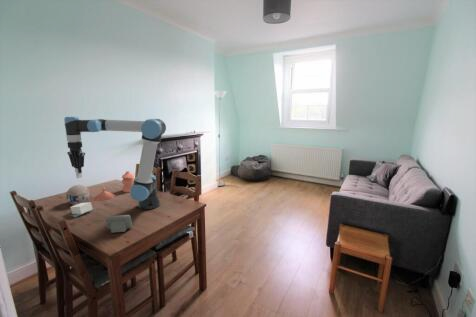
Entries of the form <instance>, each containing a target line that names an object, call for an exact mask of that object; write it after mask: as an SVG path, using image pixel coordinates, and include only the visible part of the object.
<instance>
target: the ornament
mask: <svg viewBox="0 0 476 317" xmlns="http://www.w3.org/2000/svg"><path fill="white" fill-rule="evenodd" d="M65 198H66V200H67V202H68V203H69V204H70V205H72V206H74V205H77V204H79V203H88V201H89V200H90V198H91V191H90V189H89V188H88V187H87V186H85V185H82V184H75V185H73V186H71V187H69V188H68V189H67V191H66V194H65Z"/></svg>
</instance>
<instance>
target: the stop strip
mask: <svg viewBox="0 0 476 317" xmlns="http://www.w3.org/2000/svg"><path fill="white" fill-rule="evenodd" d="M93 210H94V208H93V207H92V210H90V211H87V212H85V213H82V214H76V215H73V216H74V217H73V216H72V217H73V218H77V217H79V216H82V215H84V214H86V213H89V212H91V211H93Z"/></svg>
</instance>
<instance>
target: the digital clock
mask: <svg viewBox="0 0 476 317" xmlns="http://www.w3.org/2000/svg"><path fill="white" fill-rule="evenodd" d="M104 220H105V223H106V227H107V229H108V230H110V233H111V234H112V233H122V232H123V233H124V232H126V230H127V229H131V228H132V227H133V222H132V221H133V220H132V217H131V215H130V214H124V215H110V216H106V217H105V219H104Z"/></svg>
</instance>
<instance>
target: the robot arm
mask: <svg viewBox="0 0 476 317" xmlns="http://www.w3.org/2000/svg"><path fill="white" fill-rule="evenodd" d="M64 128H65V134H66V135H65V136H66V142H67V144H66V145H67V149H69V151H67V155H68V157H69V161H70V164H71V167H72V168H74V172H75V177H76V179H81V178H82V177H83V173H82V172H83V171H82V168H83V167H84V166H85V155H86V152H83V150H82V147H83V142H82V133H97V132H98V133H99V132H102V131H103V132H104V131H105V132H110V131H111V132H130V133H131V132H132V133H141V140H142V141H143V144H142V147H141V148H142V149H141V155H140V160H139V164H138V171H137V176H135V177H133V178H134V183H133V186H132V187H131V189H130V192H129V196H130V197H131V198H132V199H133V200H135V201H138V204H137V205H138V206H137V207H138V209H140V210H145V211H146V210H152V209H156V208H159V207H160V206H161V200H160V198H159V196H158V189H157V187H158V186H157V178H156V175H154V174H153V170H154V164H155V158H156V153H157V148H158V144H160V143H161V141H162V137H163V136H162V135H164V134H165V132H166V130H167V126H166V123H165V122H164V121H163V120H162V119H160V118H150V119H149V118H148V119H145V120H128V119H127V120H125V119H124V120H123V119H101V118H99V119H80V118H79V116H66V117H64Z"/></svg>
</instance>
